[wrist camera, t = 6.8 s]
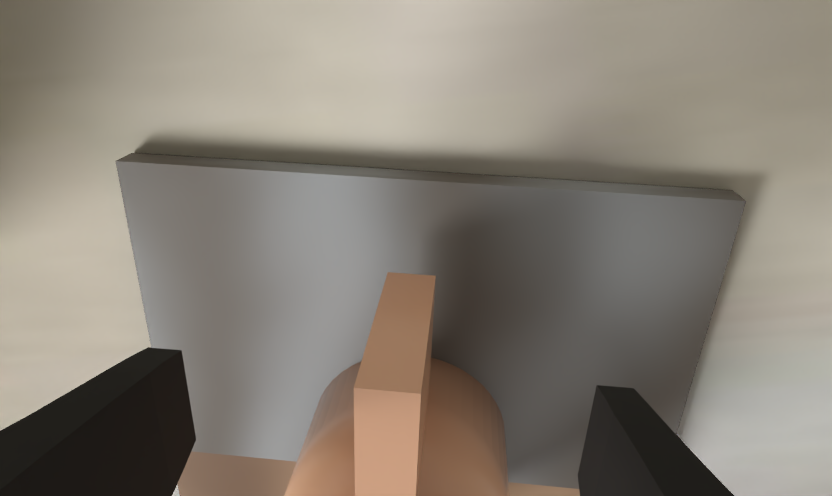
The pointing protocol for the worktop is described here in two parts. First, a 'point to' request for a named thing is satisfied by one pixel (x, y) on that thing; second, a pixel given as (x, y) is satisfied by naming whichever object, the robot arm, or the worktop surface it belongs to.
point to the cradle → (453, 304)
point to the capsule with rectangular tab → (403, 415)
